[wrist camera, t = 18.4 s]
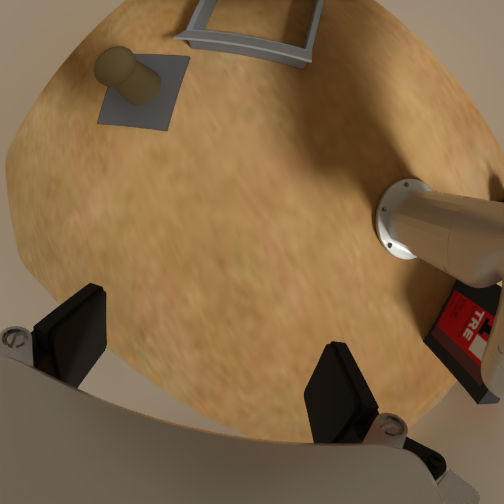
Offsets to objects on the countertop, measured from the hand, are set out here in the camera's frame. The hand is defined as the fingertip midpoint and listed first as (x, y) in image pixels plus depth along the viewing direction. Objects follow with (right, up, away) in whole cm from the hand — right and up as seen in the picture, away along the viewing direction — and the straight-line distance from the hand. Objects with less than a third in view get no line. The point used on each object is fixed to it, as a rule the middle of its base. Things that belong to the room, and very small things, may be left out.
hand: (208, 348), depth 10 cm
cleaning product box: (+42, -8, +32) cm, 54 cm away
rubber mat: (-14, +28, +22) cm, 38 cm away
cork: (-14, +28, +22) cm, 38 cm away
